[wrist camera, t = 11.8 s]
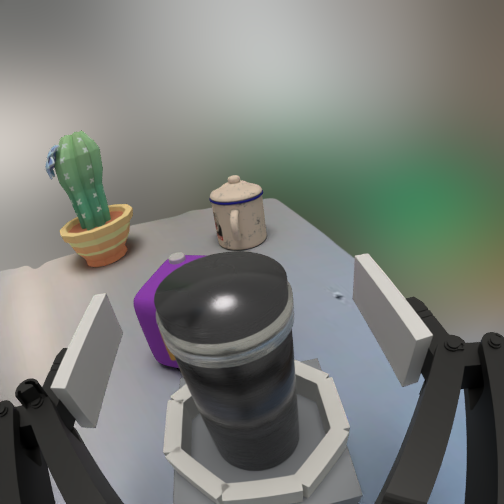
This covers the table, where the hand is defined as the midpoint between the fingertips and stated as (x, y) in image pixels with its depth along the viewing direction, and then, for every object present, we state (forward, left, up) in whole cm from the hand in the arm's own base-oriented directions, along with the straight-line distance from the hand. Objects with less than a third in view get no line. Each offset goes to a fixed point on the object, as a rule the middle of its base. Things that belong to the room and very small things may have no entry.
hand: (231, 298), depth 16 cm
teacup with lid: (+1, +38, -15) cm, 41 cm away
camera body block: (0, -3, -15) cm, 15 cm away
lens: (0, -3, -8) cm, 9 cm away
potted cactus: (-26, +42, -15) cm, 51 cm away
